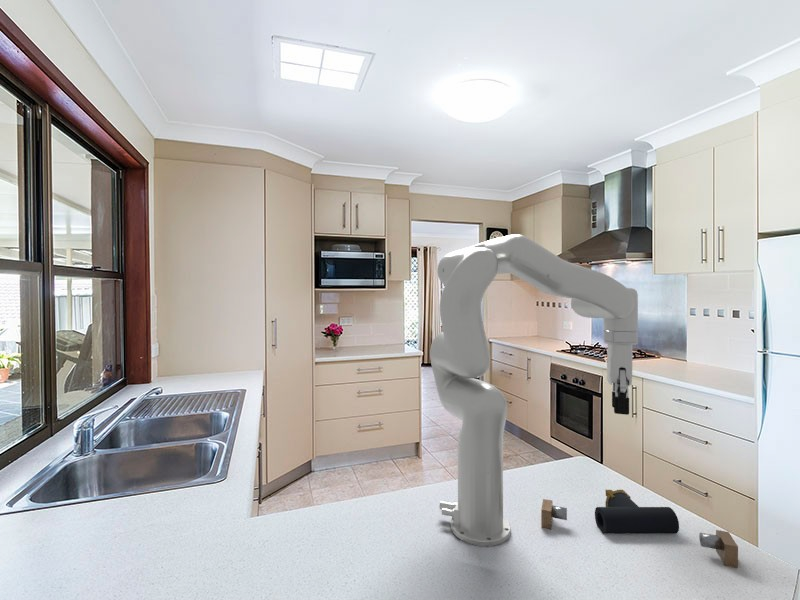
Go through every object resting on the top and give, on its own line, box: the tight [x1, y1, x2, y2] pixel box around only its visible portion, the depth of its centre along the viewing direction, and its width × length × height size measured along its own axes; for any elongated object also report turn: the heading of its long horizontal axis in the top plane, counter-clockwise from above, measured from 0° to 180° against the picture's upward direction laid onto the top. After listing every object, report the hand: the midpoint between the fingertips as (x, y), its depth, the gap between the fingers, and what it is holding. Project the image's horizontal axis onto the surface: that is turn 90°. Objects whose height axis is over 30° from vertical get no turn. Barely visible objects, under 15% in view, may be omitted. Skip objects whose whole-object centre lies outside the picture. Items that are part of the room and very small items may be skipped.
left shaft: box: [540, 498, 568, 531], centre depth 90 cm, size 5×5×4 cm
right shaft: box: [698, 529, 739, 569], centre depth 78 cm, size 5×5×4 cm
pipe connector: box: [594, 489, 680, 535], centre depth 91 cm, size 12×5×15 cm
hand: (620, 409), depth 102 cm, fingers open, 5 cm apart
